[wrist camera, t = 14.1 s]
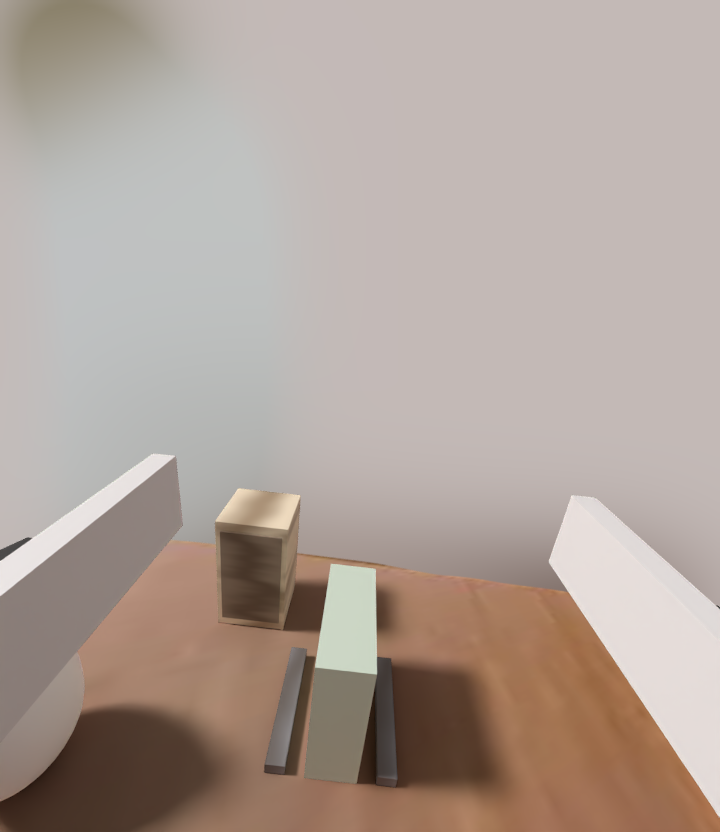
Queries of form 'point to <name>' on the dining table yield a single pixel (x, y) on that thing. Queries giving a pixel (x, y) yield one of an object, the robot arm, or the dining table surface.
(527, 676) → the dining table surface
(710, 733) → the robot arm
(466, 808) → the dining table surface
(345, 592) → the pale green block
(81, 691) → the sauce bottle
